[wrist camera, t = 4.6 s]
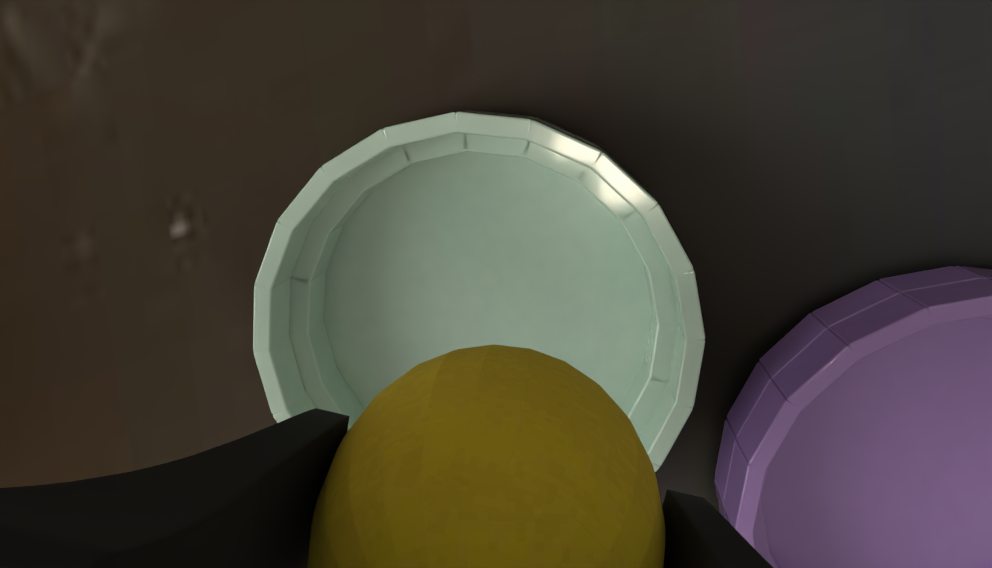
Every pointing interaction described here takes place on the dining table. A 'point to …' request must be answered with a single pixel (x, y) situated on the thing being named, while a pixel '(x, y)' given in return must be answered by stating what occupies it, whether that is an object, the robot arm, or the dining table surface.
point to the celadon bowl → (477, 270)
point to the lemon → (490, 472)
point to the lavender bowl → (870, 431)
